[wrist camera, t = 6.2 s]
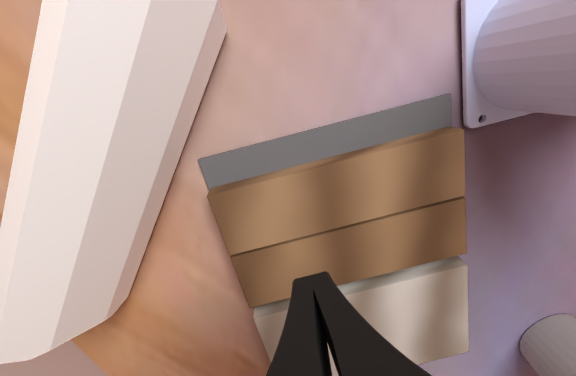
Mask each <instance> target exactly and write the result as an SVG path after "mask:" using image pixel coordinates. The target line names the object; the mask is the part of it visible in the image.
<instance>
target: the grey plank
mask: <svg viewBox="0 0 576 376" xmlns="http://www.w3.org/2000/svg"><path fill="white" fill-rule="evenodd" d="M337 287H338V288H339V290H340V291H341V292H342V294H343V295H344V296H345V297H346V299H347V300H348V301H349V302H350V303H351V304H352V306H353V307H354V308H355V309H356V310H357V311H358V312H359V313H360V315H361V316H362V317H363V318H364V319H365V320H366V321H367V322H368V323H369V324H370V325H371V326H372V327H373V328H374V329H375V330H376V331H377V332H378V333H379V334H381V335H382V336H383V337H384V338H385V339H386V340H387V341H388V342H389V343H391V344H392V345H393V346H394V347H395V348H396V349H398V350H399V351H400V352H401V353H403V354H404V355H405V356H406V357H407V358H409V359H410V360H411V361H412V362H414V363H415V364H421V363H425V362H429V361H433V360H437V359H441V358H445V357H449V356H453V355H457V354H462V353H466V352H469V336H468V271H467V264H466V263H465V262H463V261H462V260H461V259H460V258H459V257H458V256H454V257H450V258H446V259H442V260H438V261H434V262H430V263H426V264H422V265H418V266H414V267H410V268H406V269H402V270H398V271H394V272H390V273H386V274H382V275H378V276H374V277H370V278H366V279H362V280H358V281H354V282H350V283H346V284H342V285H338V286H337ZM289 303H290V298H287V299H283V300H279V301H275V302H271V303H267V304H263V305H259V306H255V307H254V321H255V324H256V326H257V329H258V332H259V334H260V337H261V339H262V342H263V345H264V347H265V350H266V352H267V355H268V358H269V360H270V363H271V362H272V360H273V357H274V354H275V352H276V349H277V346H278V343H279V340H280V337H281V334H282V331H283V327H284V324H285V320H286V316H287V312H288V308H289ZM327 344H328V343H327ZM328 350H329V357H330V364H331V371H332V376H339V375H338V372H337V370H336V367H335V364H334V361H333V358H332V355H331V352H330V349H329V346H328Z"/></svg>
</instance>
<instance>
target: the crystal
mask: <svg viewBox="0 0 576 376" xmlns="http://www.w3.org/2000/svg"><path fill="white" fill-rule="evenodd" d="M227 29H228V28H227V24H226V21H225V17H224V14H223V10H222V7H221V3H220V0H42V6H41V11H40V17H39V22H38V27H37V33H36V38H35V44H34V49H33V54H32V60H31V65H30V71H29V76H28V82H27V87H26V92H25V98H24V103H23V109H22V114H21V119H20V125H19V130H18V136H17V141H16V147H15V152H14V157H13V163H12V168H11V174H10V179H9V184H8V190H7V195H6V201H5V206H4V212H3V217H2V222H1V228H0V364H3V363H11V362H19V361H26V360H30V359H33V358H35V357H37V356H39V355H41V354H44V353H46V352H48V351H50V350H52V349H54V348H56V347H57V346H59V345H61V344H63V343H65V342H67V341H69V340H71V339H72V338H74V337H76V336H78V335H80V334H82V333H83V332H85V331H87V330H89V329H91V328H93V327H95V326H96V325H98V324H100V323H102V322H104V321H105V320H107V319H108V318H109V317H111V316H112V315H113V314H114V313H115V312H116V311H117V309H118V308H119V307H120V306H121V305H122V303H123V302H124V301H125V300H126V299H127V297H128V295H129V293H130V290H131V287H132V285H133V282H134V279H135V277H136V274H137V271H138V269H139V266H140V263H141V260H142V258H143V255H144V252H145V250H146V247H147V244H148V242H149V239H150V236H151V234H152V231H153V228H154V225H155V223H156V220H157V217H158V215H159V212H160V209H161V207H162V204H163V201H164V199H165V196H166V193H167V191H168V188H169V185H170V182H171V180H172V177H173V174H174V172H175V169H176V166H177V164H178V161H179V158H180V156H181V153H182V150H183V147H184V145H185V142H186V139H187V137H188V134H189V131H190V129H191V126H192V123H193V121H194V118H195V115H196V113H197V110H198V107H199V104H200V102H201V99H202V96H203V94H204V91H205V88H206V86H207V83H208V80H209V78H210V75H211V72H212V69H213V67H214V64H215V61H216V59H217V56H218V53H219V51H220V48H221V45H222V43H223V40H224V37H225V35H226V32H227Z"/></svg>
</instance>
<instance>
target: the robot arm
mask: <svg viewBox="0 0 576 376" xmlns="http://www.w3.org/2000/svg"><path fill="white" fill-rule="evenodd" d="M461 29H462V76H463V122H464V125H465V127H467V128H471V129H472V128H478V127H481V126H485V125H489V124H493V123H497V122H501V121H505V120H508V119H512V118H516V117H520V116H524V115H528V114H532V113H535V112H537V113H547V114H557V115H567V116H576V0H461ZM481 115H482V119H481V121H478V119H479V117H480V116H481ZM327 343H328V344H327ZM328 346H329V349H330V352H331V355H332V358H333V361H334V364H335V367H336V370H337V372H338V375H339V376H431V375H430V374H429V373H427V372H426V371H425V370H423V369H422V368H421V367H419V366H418V365H417V364H415V363H414V362H412V361H411V360H410V359H409V358H407V357H406V356H405V355H404V354H403V353H401V352H400V351H399V350H398V349H396V348H395V347H394V346H393V345H392V344H391V343H389V342H388V341H387V340H386V339H385V338H384V337H383V336H382V335H381V334H379V333H378V332H377V331H376V330H375V329H374V328H373V327H372V326H371V325H370V324H369V323H368V322H367V321H366V320H365V319H364V318H363V317H362V316H361V315H360V313H359V312H358V311H357V310H356V309H355V308H354V307H353V306H352V304H351V303H350V302H349V301H348V300H347V299H346V297H345V296H344V295H343V294H342V292H341V291H340V290H339V288H338V287H337V286H336V284H335V283H334V281H333V280H332V278H331V276H330V274H329V273H328V272H326V271H324V272H321V273H317V274H313V275H309V276H305V277H301V278H297V279H294V281H293V282H292V292H291V298H290V303H289V308H288V312H287V316H286V320H285V324H284V327H283V331H282V334H281V337H280V340H279V343H278V346H277V349H276V352H275V354H274V357H273V360H272V362H271V365H270V367H269V369H268V372H267V374H266V376H332V371H331V364H330V357H329V350H328Z"/></svg>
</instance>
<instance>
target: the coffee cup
mask: <svg viewBox="0 0 576 376" xmlns="http://www.w3.org/2000/svg"><path fill="white" fill-rule="evenodd" d="M520 351H521V353H522V355H523V356H524V358H525V359H526V360H527V361H528V363H529V364H530V365H531V366H532V368H533V369H534V370H535V371H536V373H537V374H538V375H539V376H576V318H575V317H573V316H571V315H568V314H556V315H552V316H549V317H546V318H544V319H542V320H540V321H538V322H537V323H535V324H534V325H532V326H531V327H530V328H529V329H528V330H527V331H526V332H525V333H524V334H523V336H522V338H521V340H520Z"/></svg>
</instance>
